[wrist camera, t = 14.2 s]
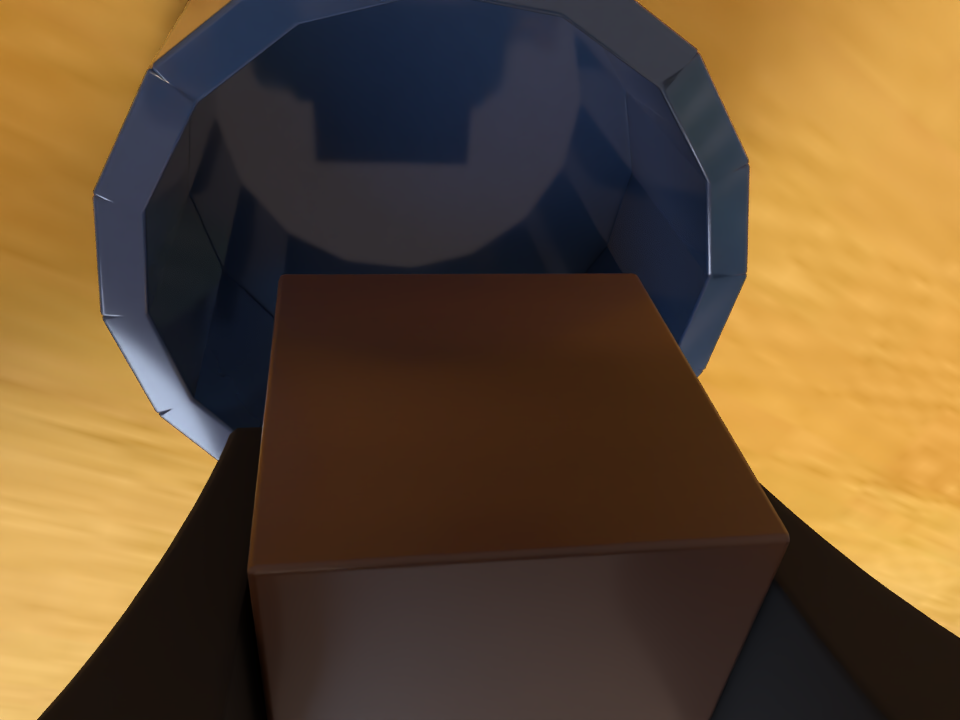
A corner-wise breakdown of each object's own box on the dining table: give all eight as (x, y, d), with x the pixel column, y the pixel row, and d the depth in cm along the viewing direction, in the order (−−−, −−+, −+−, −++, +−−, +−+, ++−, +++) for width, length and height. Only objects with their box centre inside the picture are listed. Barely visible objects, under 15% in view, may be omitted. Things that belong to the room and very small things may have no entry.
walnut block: (297, 529, 14) (282, 844, 10) (278, 272, 11) (244, 571, 7) (583, 514, 14) (677, 800, 10) (637, 271, 12) (795, 537, 8)
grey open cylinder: (261, 413, 22) (243, 566, 18) (51, -33, 15) (-58, 46, 11) (666, 316, 23) (744, 447, 18) (641, -172, 15) (759, -146, 11)
